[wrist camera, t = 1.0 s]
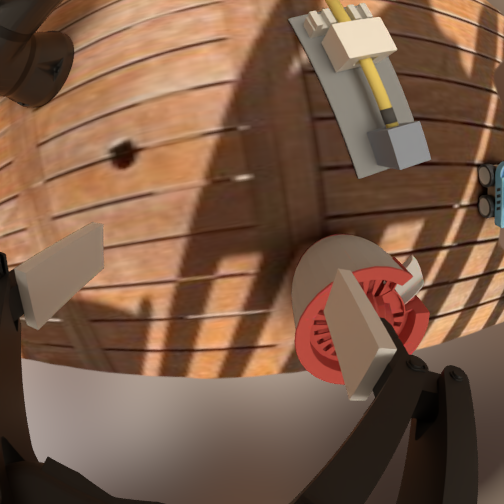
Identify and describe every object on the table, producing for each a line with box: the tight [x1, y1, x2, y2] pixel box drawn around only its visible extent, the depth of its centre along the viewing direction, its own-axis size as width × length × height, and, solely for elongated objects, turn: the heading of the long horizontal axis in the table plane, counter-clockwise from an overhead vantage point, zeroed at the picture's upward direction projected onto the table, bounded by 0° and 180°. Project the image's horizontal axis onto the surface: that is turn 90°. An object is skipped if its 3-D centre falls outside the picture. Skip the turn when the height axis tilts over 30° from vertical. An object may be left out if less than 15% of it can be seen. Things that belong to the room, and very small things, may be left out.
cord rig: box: [288, 0, 431, 179], centre depth 29 cm, size 26×12×8 cm, turn 23°
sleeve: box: [321, 17, 397, 72], centre depth 27 cm, size 5×7×7 cm
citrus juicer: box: [291, 234, 430, 385], centre depth 34 cm, size 16×17×20 cm
